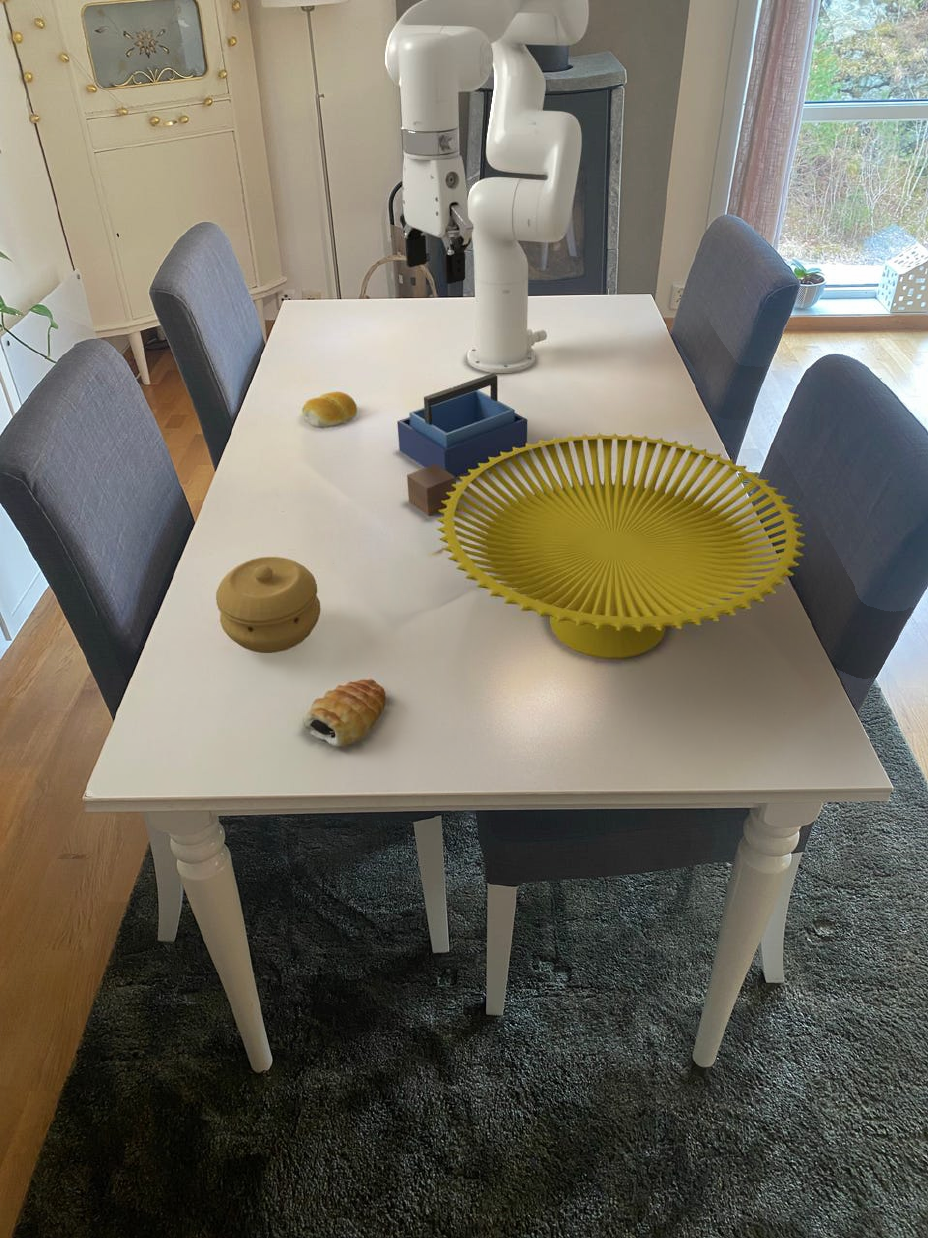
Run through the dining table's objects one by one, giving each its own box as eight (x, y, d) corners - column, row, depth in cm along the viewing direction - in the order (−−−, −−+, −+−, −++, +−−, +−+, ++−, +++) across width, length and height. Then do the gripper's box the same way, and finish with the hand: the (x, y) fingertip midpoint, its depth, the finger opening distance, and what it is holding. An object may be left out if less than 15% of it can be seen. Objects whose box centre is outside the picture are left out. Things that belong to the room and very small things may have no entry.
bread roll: (366, 415, 160) (364, 393, 157) (325, 433, 155) (323, 411, 152) (334, 401, 164) (332, 379, 162) (294, 418, 159) (291, 396, 157)
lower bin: (478, 423, 156) (478, 392, 153) (527, 451, 148) (527, 419, 145) (399, 453, 149) (397, 421, 145) (445, 484, 141) (444, 450, 137)
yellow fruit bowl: (806, 569, 122) (831, 466, 112) (739, 788, 93) (765, 674, 84) (516, 506, 135) (517, 410, 126) (381, 679, 107) (369, 572, 98)
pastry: (355, 682, 107) (352, 657, 104) (402, 705, 104) (400, 680, 101) (299, 732, 101) (294, 706, 98) (347, 758, 98) (344, 732, 95)
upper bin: (477, 426, 154) (476, 364, 148) (514, 447, 148) (515, 384, 141) (411, 450, 148) (407, 387, 142) (447, 474, 142) (445, 409, 135)
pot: (221, 615, 117) (206, 549, 111) (315, 598, 119) (305, 532, 113) (230, 676, 108) (213, 607, 102) (331, 656, 110) (321, 587, 104)
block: (436, 493, 139) (435, 463, 136) (457, 507, 136) (456, 477, 133) (408, 504, 137) (406, 474, 133) (428, 519, 133) (427, 488, 130)
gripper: (492, 148, 122) (492, 282, 132) (418, 129, 133) (423, 254, 143) (445, 156, 118) (448, 293, 129) (373, 136, 130) (381, 263, 140)
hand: (435, 273), depth 136 cm, fingers open, 9 cm apart
